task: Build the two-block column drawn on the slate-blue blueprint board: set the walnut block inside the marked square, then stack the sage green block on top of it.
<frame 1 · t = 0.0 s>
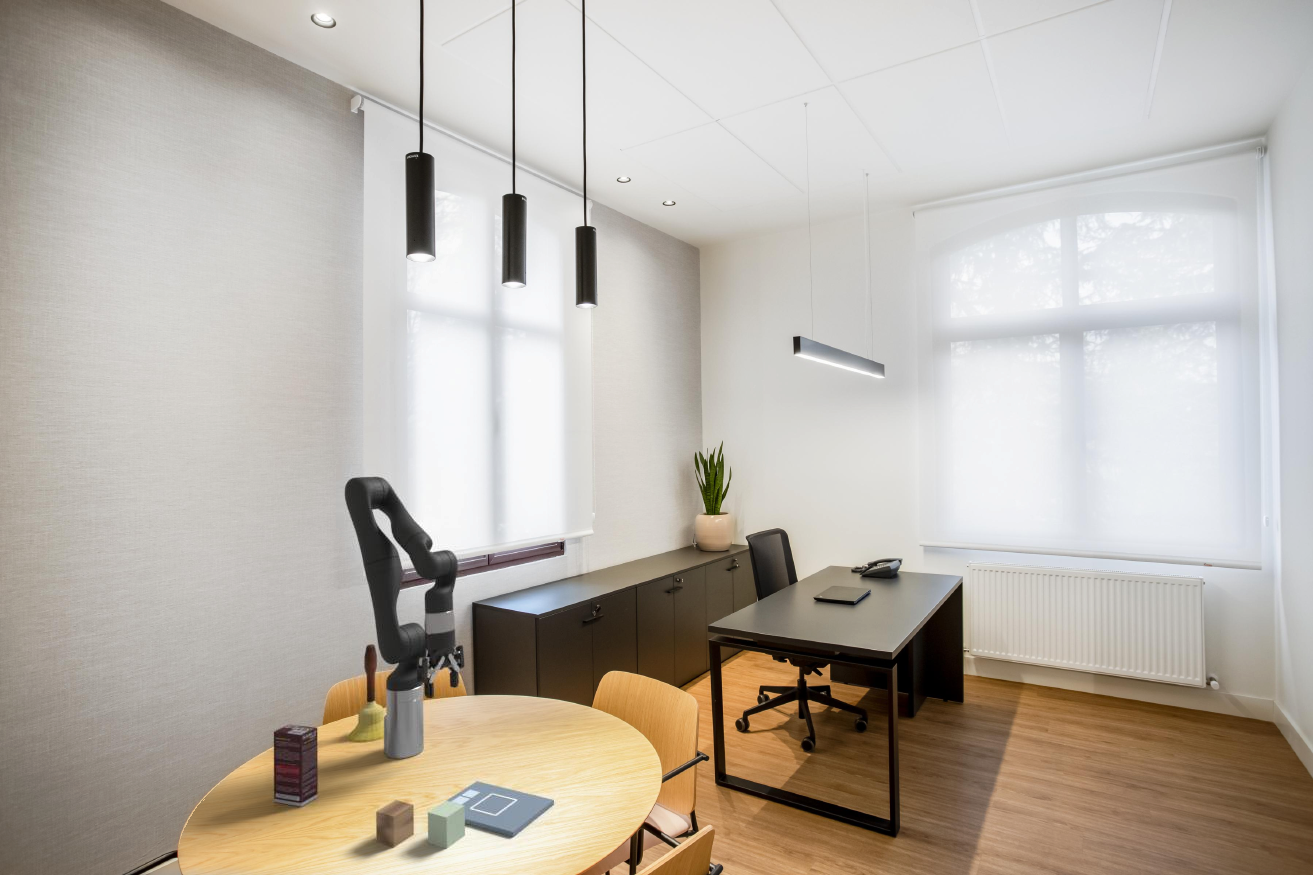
hand: (442, 692, 170), 17 cm above the table, fingers open, 8 cm apart
handbell: (371, 734, 188), on the table
blueprint board: (493, 809, 144), on the table
supplement box: (295, 800, 150), on the table
walnut block: (395, 838, 133), on the table
sage block: (446, 839, 133), on the table
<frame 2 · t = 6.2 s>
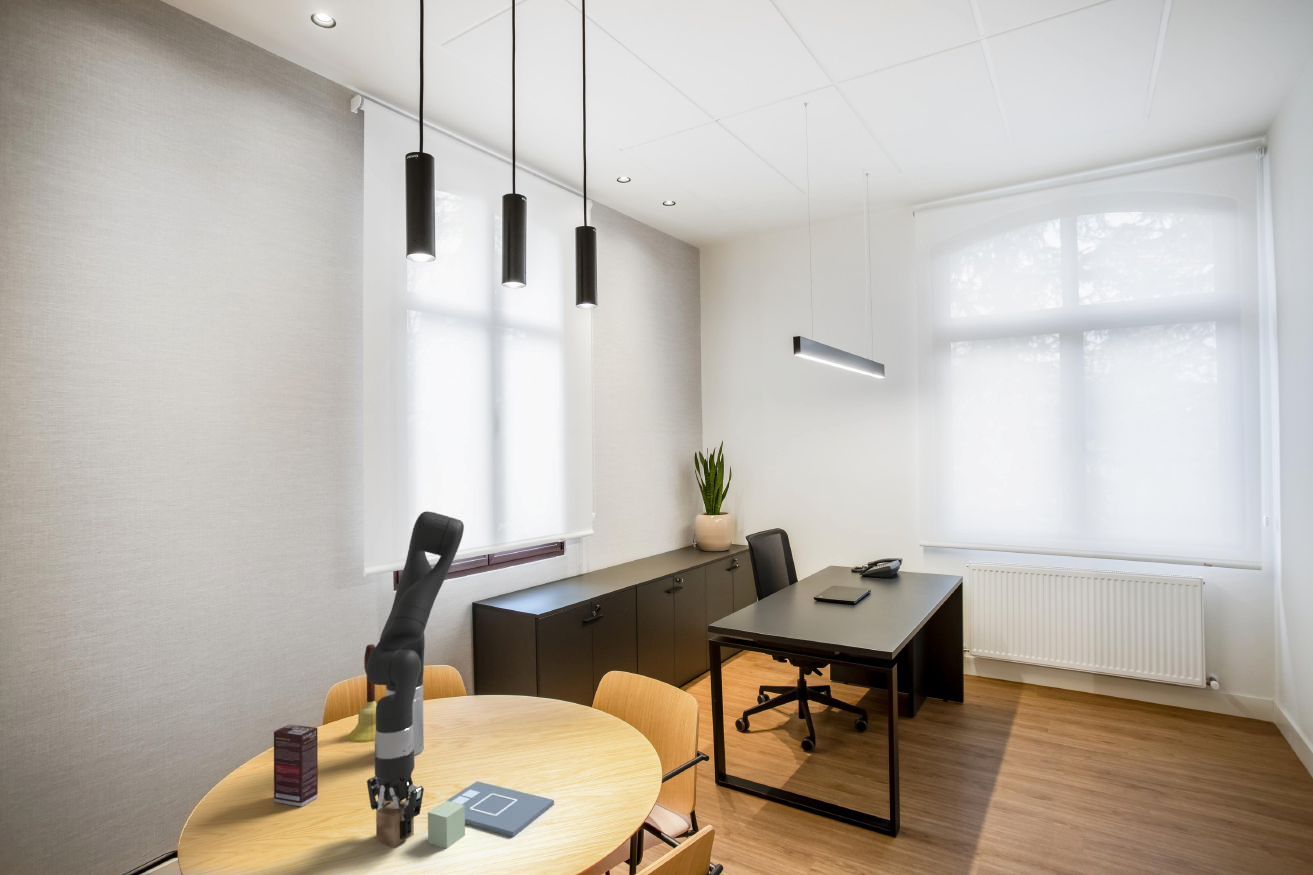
hand: (395, 833, 134), 1 cm above the table, fingers closed on walnut block, 5 cm apart
walnut block: (395, 837, 133), on the table, touching gripper
everything else where it was.
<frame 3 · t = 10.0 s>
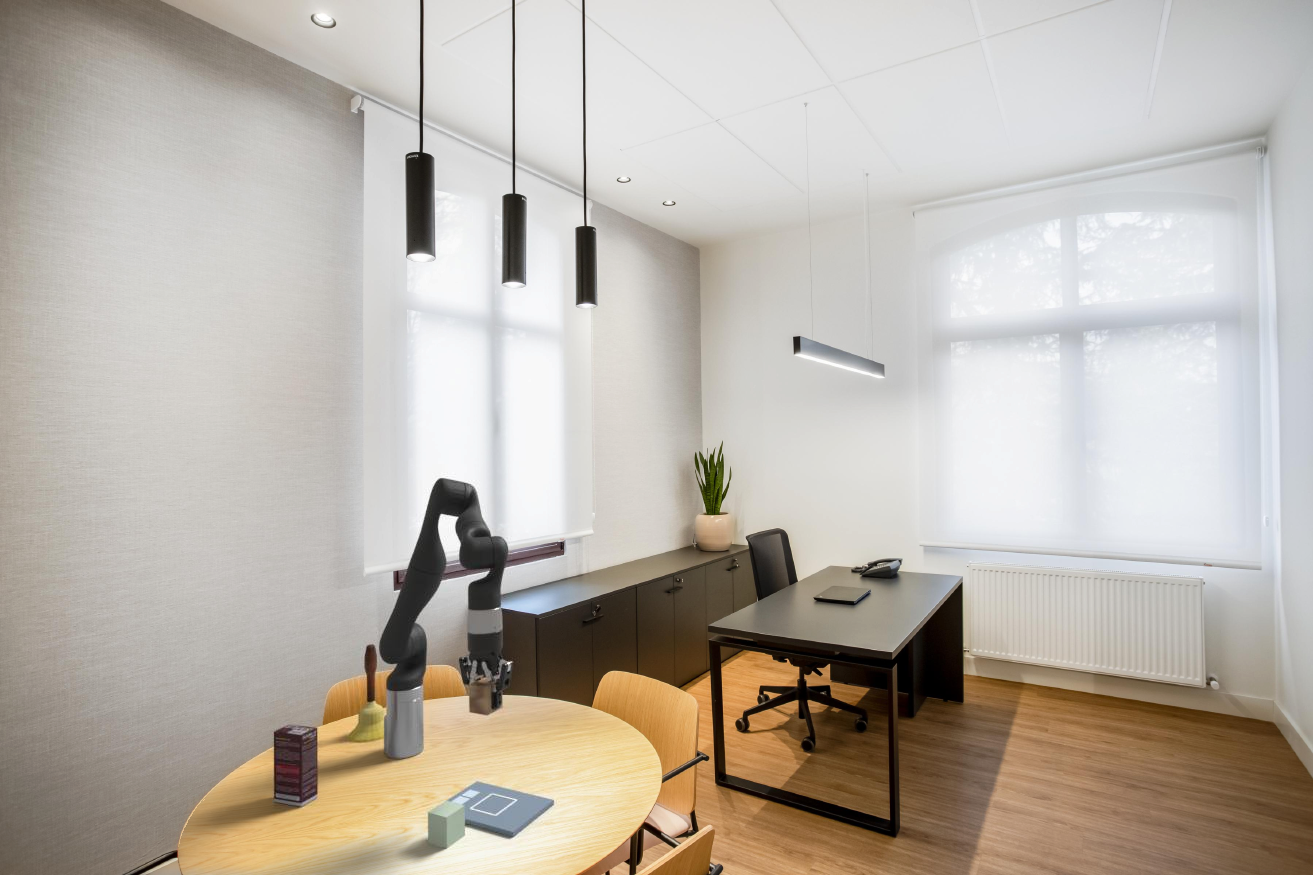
hand: (486, 706, 144), 22 cm above the table, fingers closed on walnut block, 5 cm apart
walnut block: (486, 709, 144), point 22 cm above the table, touching gripper
everything else where it was.
when the fingers open (3 cm above the table, at t = 13.7 s): walnut block drops 1 cm, resting on blueprint board.
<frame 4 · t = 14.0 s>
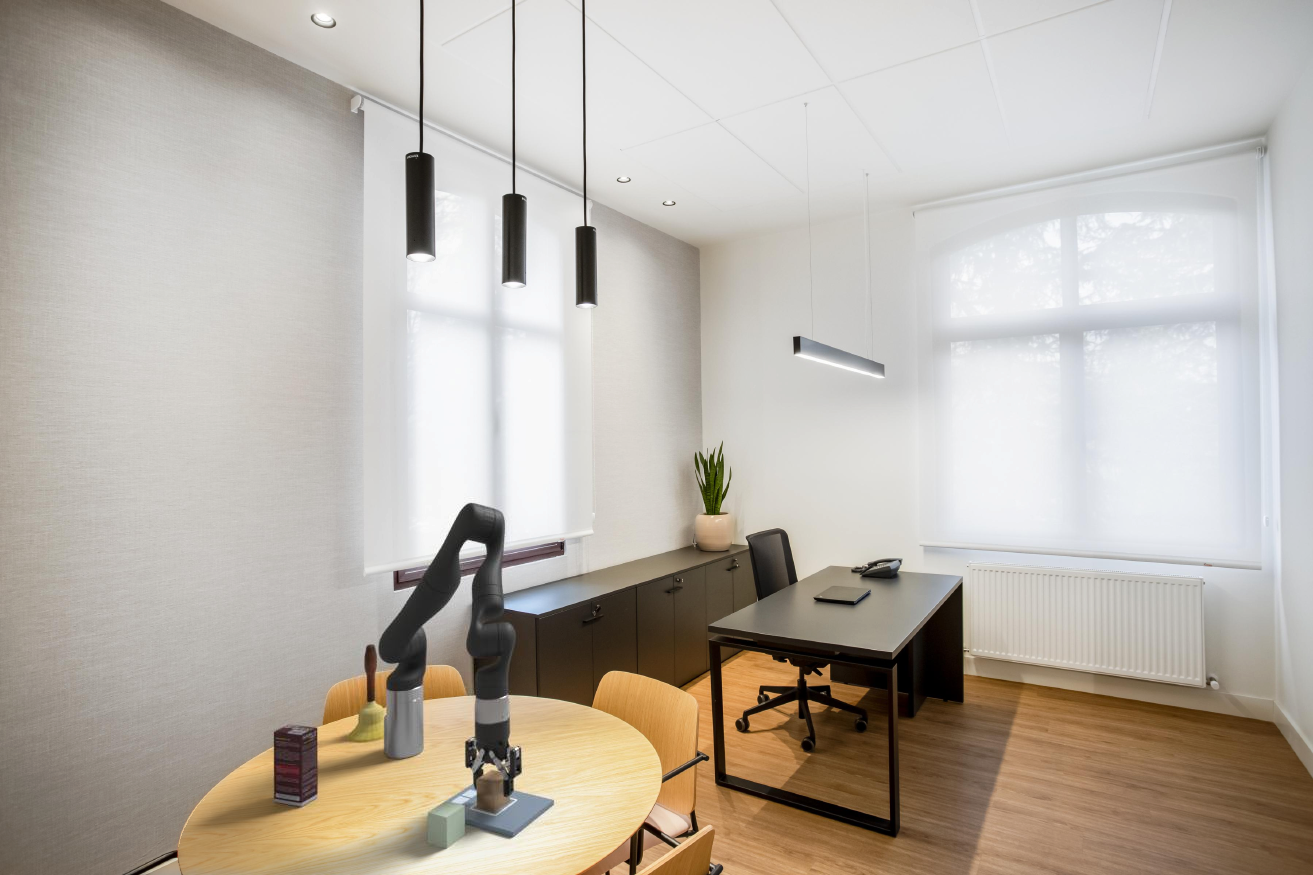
hand: (493, 791, 144), 4 cm above the table, fingers open, 7 cm apart
walnut block: (493, 804, 144), point 1 cm above the table, touching blueprint board
everything else where it was.
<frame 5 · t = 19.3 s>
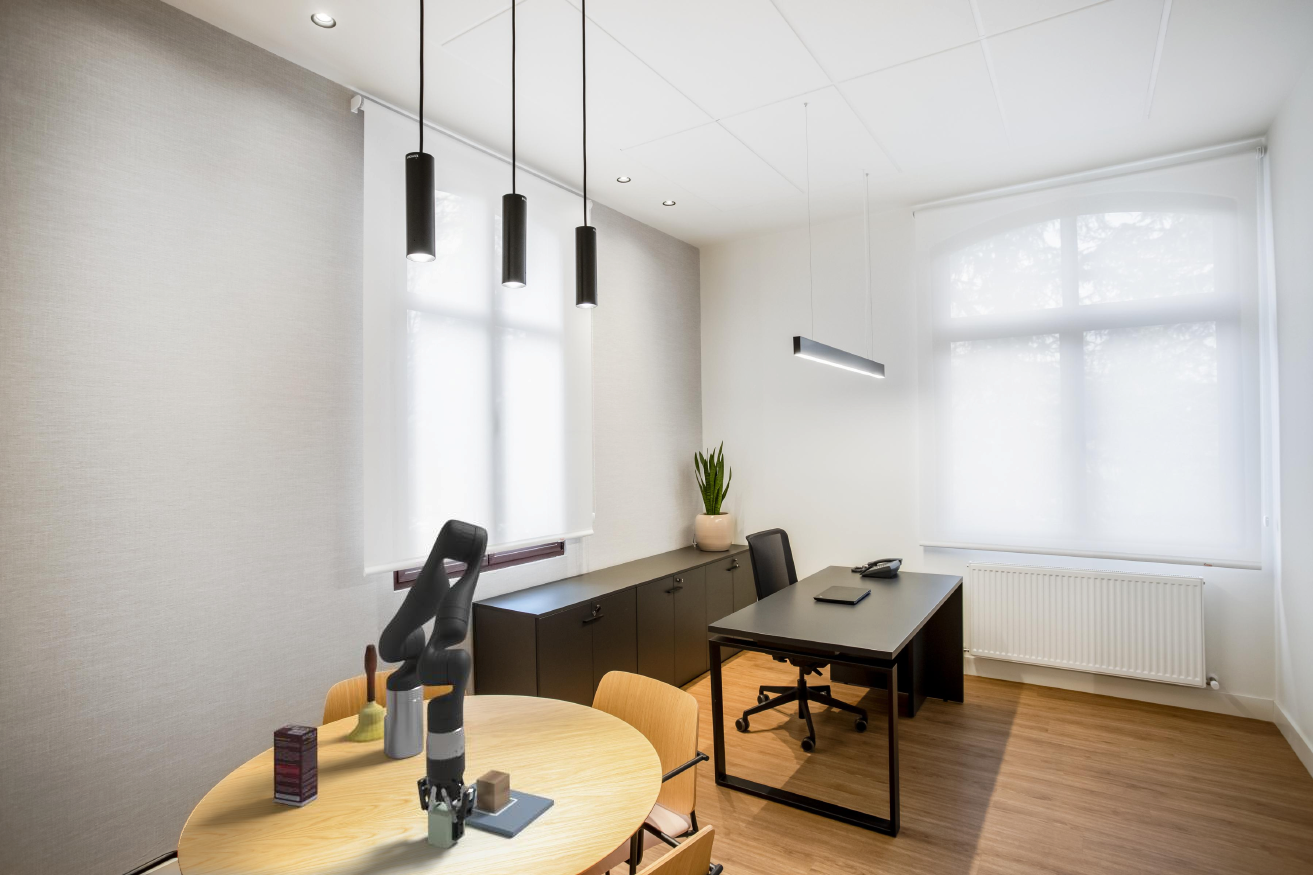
hand: (446, 834, 133), 1 cm above the table, fingers closed on sage block, 5 cm apart
sage block: (446, 839, 133), on the table, touching gripper
everything else where it was.
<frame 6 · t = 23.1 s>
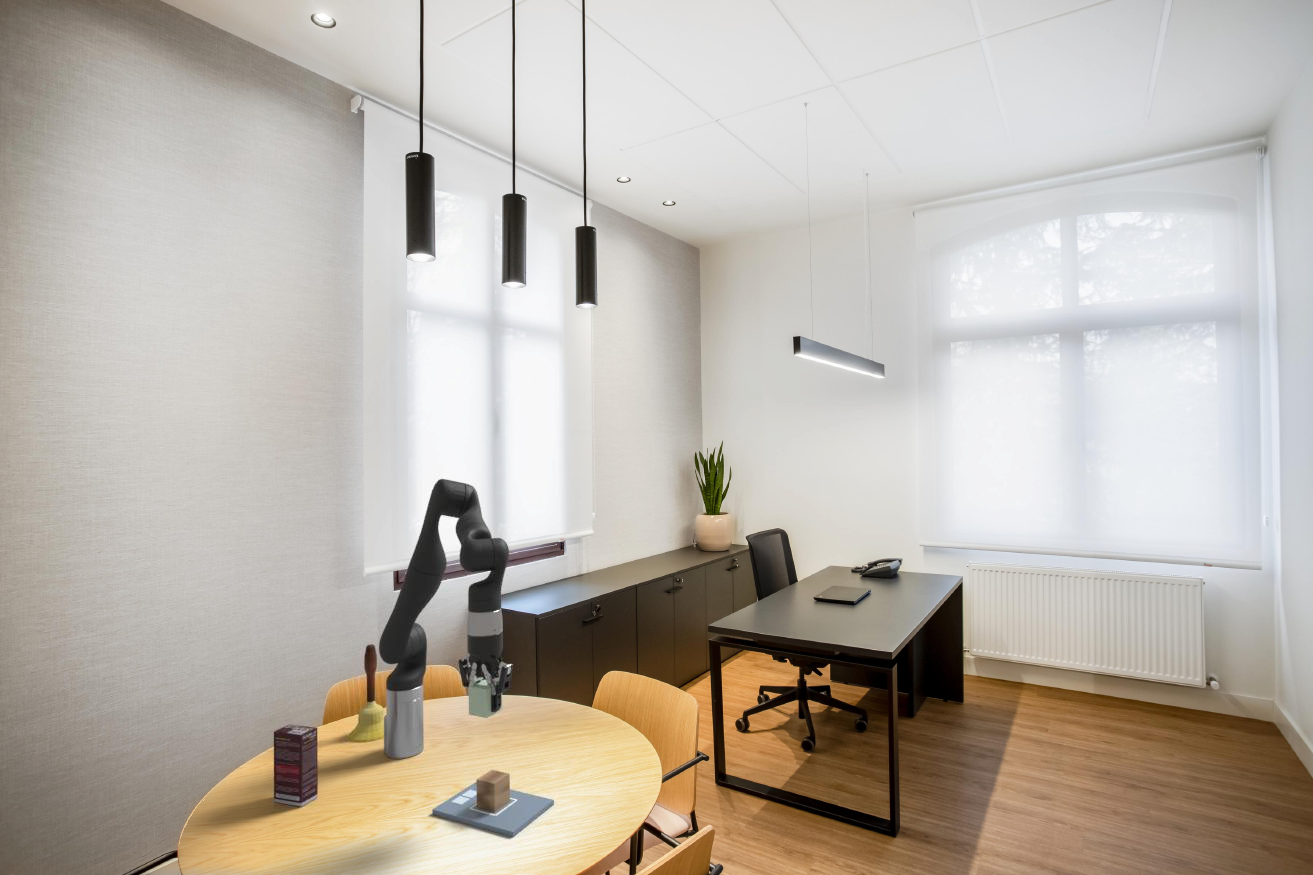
hand: (485, 708, 144), 22 cm above the table, fingers closed on sage block, 5 cm apart
sage block: (485, 712, 144), point 21 cm above the table, touching gripper
everything else where it was.
when the fingers open (9 cm above the table, at t = 26.4 s): sage block stays where it is, resting on walnut block.
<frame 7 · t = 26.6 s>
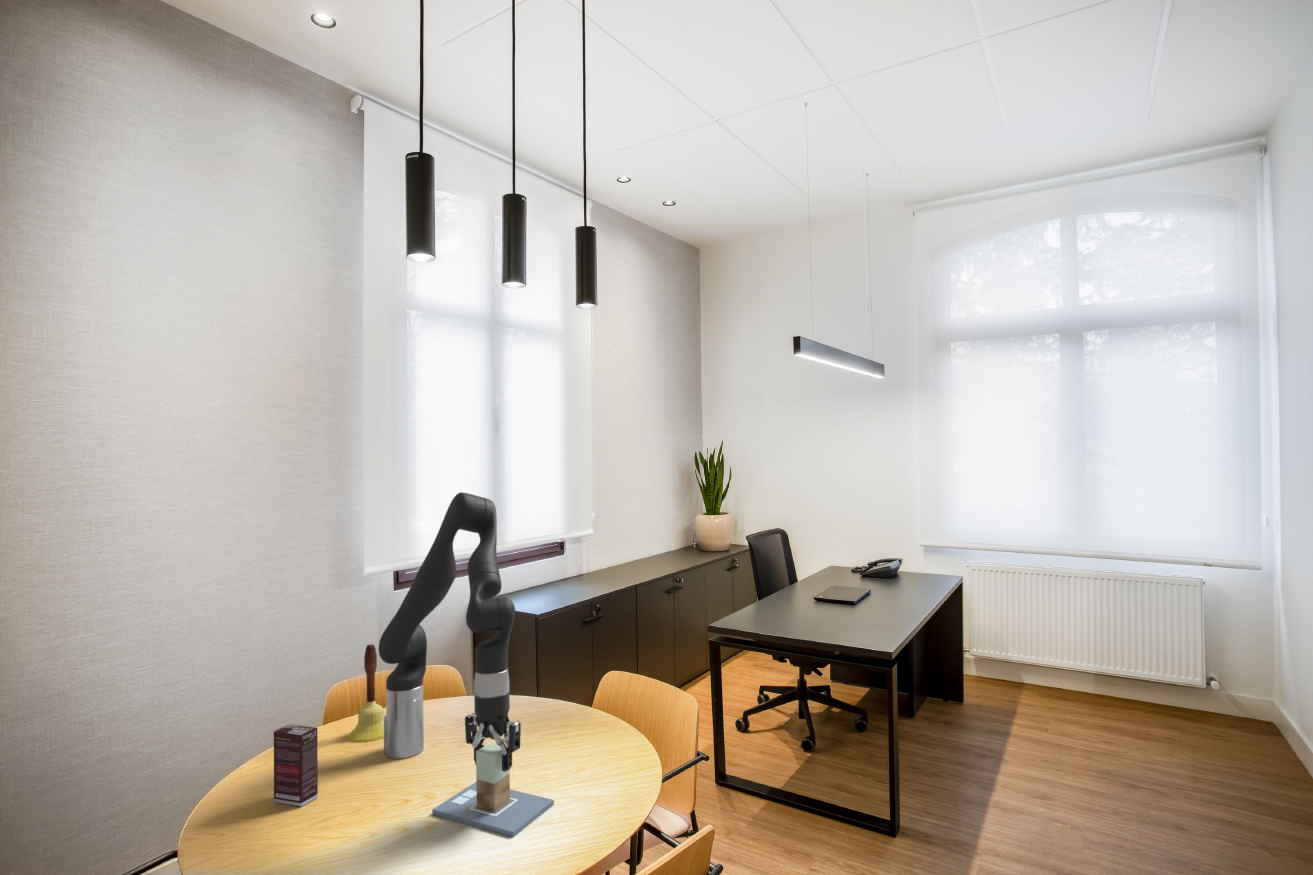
hand: (493, 766, 144), 9 cm above the table, fingers open, 7 cm apart
walnut block: (493, 804, 144), point 1 cm above the table, touching blueprint board, sage block
sage block: (493, 776, 144), point 7 cm above the table, touching walnut block
everything else where it was.
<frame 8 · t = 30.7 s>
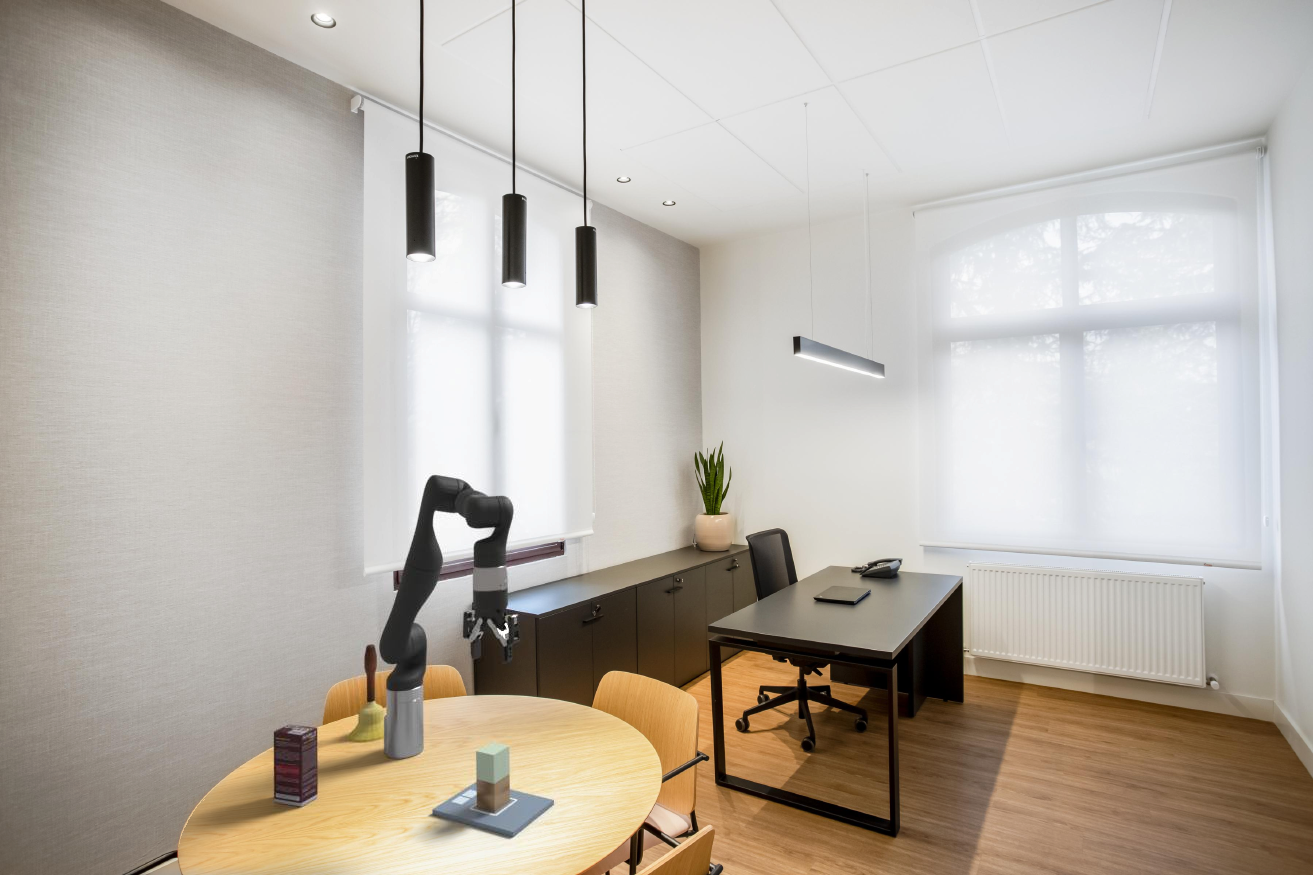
hand: (491, 660, 145), 32 cm above the table, fingers open, 8 cm apart
nothing on the table moved.
at the end: walnut block 0.0 cm off-centre on the blueprint board, point 1.0 cm above the blueprint board's base; sage block 0.0 cm off-centre on the blueprint board, point 7.0 cm above the blueprint board's base; sage block tilted 0° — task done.
